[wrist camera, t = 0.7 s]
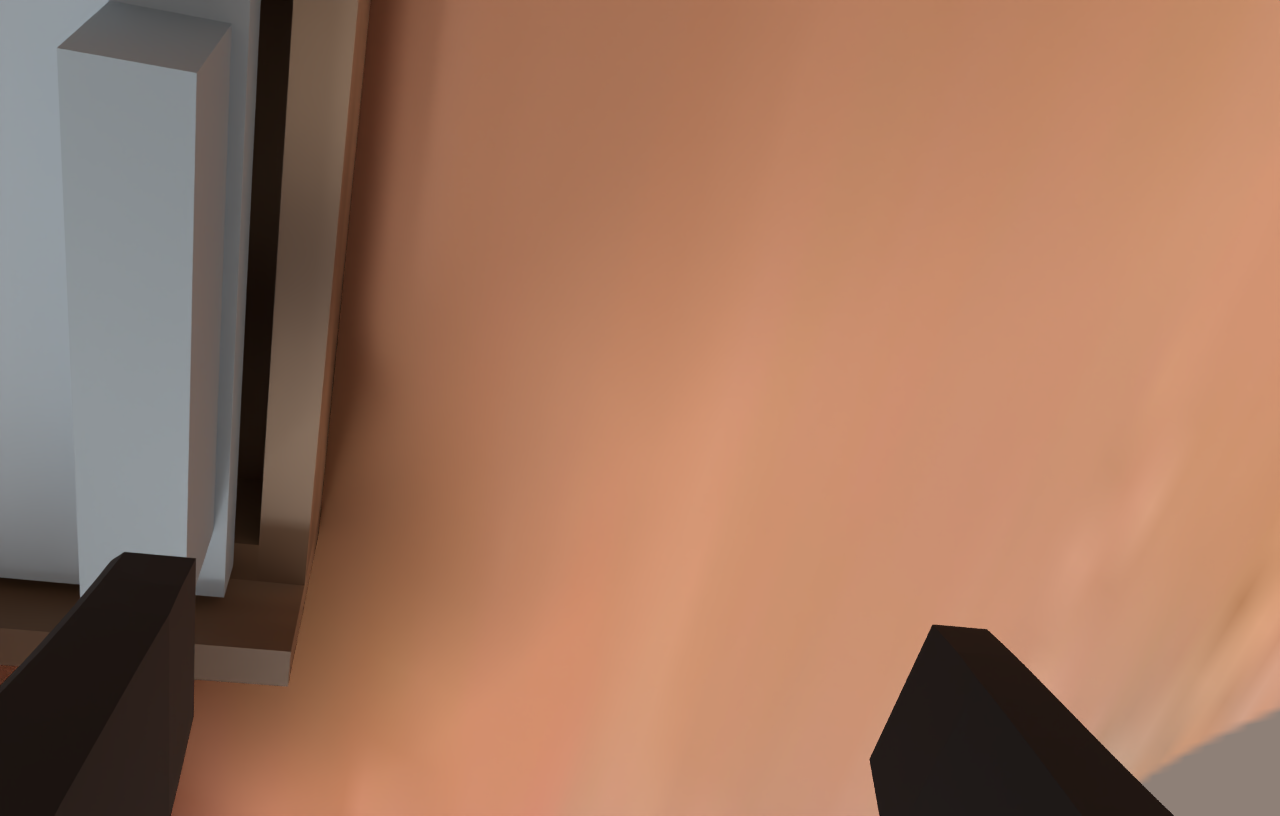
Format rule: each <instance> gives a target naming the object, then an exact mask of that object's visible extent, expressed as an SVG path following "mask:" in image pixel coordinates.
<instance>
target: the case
mask: <svg viewBox="0 0 1280 816" xmlns="http://www.w3.org/2000/svg"><path fill="white" fill-rule="evenodd" d="M370 2H371V0H261V5H260V26H259V46H258V67H257V87H256V108H255V128H254V149H253V169H252V189H251V210H250V230H249V251H248V271H247V292H246V312H245V333H244V353H243V374H242V394H241V415H240V435H239V456H238V476H237V497H236V517H235V538H234V558H233V568H232V571H231V575H230V578H229V582H228V585H227V589H226V592H225V596H224V598H223V597H212V596H201V595H195V656H194V679H195V680H208V681H221V682H235V683H248V684H261V685H274V686H288V683H289V678H290V673H291V668H292V663H293V658H294V653H295V648H296V643H297V638H298V633H299V628H300V623H301V618H302V613H303V609H304V604H305V599H306V594H307V589H308V584H309V579H310V574H311V569H312V564H313V559H314V554H315V549H316V544H317V539H318V534H319V524H320V514H321V504H322V493H323V483H324V473H325V463H326V452H327V442H328V432H329V422H330V411H331V401H332V391H333V381H334V370H335V360H336V350H337V340H338V329H339V319H340V309H341V299H342V288H343V278H344V268H345V258H346V247H347V237H348V227H349V217H350V207H351V196H352V186H353V176H354V166H355V155H356V145H357V135H358V125H359V114H360V104H361V94H362V84H363V73H364V63H365V53H366V43H367V32H368V22H369V12H370ZM79 599H80V585H79V584H68V583H57V582H46V581H35V580H23V579H12V578H1V577H0V665H9V666H20V665H21V664H22V663H23V662H24V660H25V659H26V658H27V657H28V656H29V655H30V654H31V653H32V652H33V651H34V650H35V648H36V647H37V646H38V645H39V644H40V643H41V642H42V641H43V640H44V639H45V637H46V636H47V635H48V634H49V633H50V632H51V631H52V630H53V629H54V628H55V626H56V625H57V624H58V623H59V622H60V621H61V620H62V618H63V617H64V616H65V615H66V614H67V613H68V612H69V610H70V609H71V608H72V607H73V606H74V605H75V604H76V602H77V601H78V600H79Z"/></svg>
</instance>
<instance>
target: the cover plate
mask: <svg viewBox="0 0 1280 816" xmlns="http://www.w3.org/2000/svg"><path fill="white" fill-rule="evenodd" d="M260 5H261V0H0V577H1V578H12V579H23V580H35V581H46V582H57V583H68V584H79V585H80V598H81V596H82V595H83V594H84V593H85V592H86V590H87V589H88V588H89V587H90V586H91V585H92V583H93V582H94V581H95V580H96V579H97V577H98V576H99V575H100V574H101V572H102V571H103V570H104V569H105V567H106V566H107V565H108V564H109V562H110V561H111V560H113V559H114V558H116V557H117V556H119V555H120V554H122V553H123V552H133V553H144V554H155V555H166V556H177V557H188V558H196V592H195V595H201V596H212V597H223V598H224V596H225V592H226V589H227V585H228V582H229V578H230V575H231V571H232V568H233V558H234V538H235V517H236V497H237V476H238V456H239V435H240V415H241V394H242V374H243V353H244V333H245V312H246V292H247V271H248V251H249V230H250V210H251V189H252V169H253V149H254V128H255V108H256V87H257V67H258V46H259V26H260Z"/></svg>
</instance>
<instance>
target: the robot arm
mask: <svg viewBox="0 0 1280 816" xmlns="http://www.w3.org/2000/svg"><path fill="white" fill-rule="evenodd" d="M195 592H196V558H188V557H177V556H166V555H155V554H144V553H133V552H123V553H122V554H120V555H119V556H117V557H116V558H114V559H113V560H111V561H110V562H109V564H108V565H107V566H106V567H105V569H104V570H103V571H102V572H101V574H100V575H99V576H98V577H97V579H96V580H95V581H94V582H93V583H92V585H91V586H90V587H89V588H88V589H87V590H86V592H85V593H84V594H83V595H82V596H81V598H80V599H79V600H78V601H77V602H76V604H75V605H74V606H73V607H72V608H71V609H70V610H69V612H68V613H67V614H66V615H65V616H64V617H63V618H62V620H61V621H60V622H59V623H58V624H57V625H56V626H55V628H54V629H53V630H52V631H51V632H50V633H49V634H48V635H47V636H46V637H45V639H44V640H43V641H42V642H41V643H40V644H39V645H38V646H37V647H36V648H35V650H34V651H33V652H32V653H31V654H30V655H29V656H28V657H27V658H26V659H25V660H24V662H23V663H22V664H21V665H20V666H19V667H18V668H17V669H16V670H15V671H14V672H13V673H12V674H11V675H10V676H9V677H8V678H7V679H6V680H5V681H4V682H3V683H2V684H1V685H0V816H171V812H172V808H173V804H174V800H175V795H176V791H177V787H178V783H179V779H180V774H181V770H182V765H183V761H184V757H185V752H186V748H187V743H188V739H189V734H190V730H191V726H192V721H193V717H194V656H195ZM870 765H871V770H872V776H873V782H874V787H875V793H876V799H877V804H878V810H879V815H880V816H1174V815H1173V814H1172V813H1171V812H1170V811H1169V810H1167V809H1166V808H1165V807H1164V806H1163V805H1162V804H1161V803H1160V802H1159V801H1158V800H1157V799H1156V798H1155V797H1154V796H1153V795H1152V794H1151V793H1150V792H1149V791H1148V790H1147V789H1146V788H1145V787H1144V786H1143V785H1142V784H1141V783H1140V782H1139V781H1138V780H1137V779H1136V778H1135V777H1134V776H1133V775H1132V774H1131V773H1130V772H1129V771H1128V770H1127V769H1126V768H1125V767H1124V766H1123V765H1122V764H1121V763H1120V762H1119V761H1118V760H1117V759H1116V758H1115V757H1114V756H1113V755H1112V754H1111V753H1110V752H1109V751H1108V750H1107V749H1106V748H1105V747H1104V746H1103V745H1102V744H1101V743H1100V742H1099V741H1098V740H1097V739H1096V738H1095V737H1094V736H1093V735H1092V734H1091V733H1090V732H1089V731H1088V730H1087V729H1086V728H1085V727H1084V726H1083V724H1082V723H1081V722H1080V721H1079V720H1078V719H1077V718H1076V717H1075V716H1074V715H1073V714H1072V713H1071V712H1070V711H1069V710H1068V709H1067V708H1066V707H1065V706H1064V705H1063V704H1062V703H1061V702H1060V701H1059V700H1058V699H1057V698H1056V697H1055V696H1054V695H1053V694H1052V693H1051V692H1050V691H1049V690H1048V689H1047V688H1046V687H1045V686H1044V685H1043V684H1042V683H1041V682H1040V681H1039V679H1038V678H1037V677H1036V676H1035V675H1034V674H1033V673H1032V672H1031V671H1030V670H1029V669H1028V668H1027V667H1026V666H1025V665H1024V664H1023V663H1022V662H1021V661H1020V660H1019V659H1018V658H1017V657H1016V656H1015V655H1014V654H1013V653H1011V652H1010V651H1009V650H1008V649H1007V648H1006V647H1005V646H1004V645H1003V644H1002V643H1001V642H1000V641H999V640H998V639H997V638H996V637H995V636H994V635H992V634H991V633H990V632H989V631H988V630H987V629H977V628H966V627H955V626H944V625H932V627H931V629H930V631H929V633H928V636H927V638H926V640H925V642H924V644H923V646H922V648H921V651H920V653H919V655H918V657H917V659H916V661H915V663H914V665H913V668H912V670H911V672H910V674H909V676H908V678H907V680H906V683H905V685H904V687H903V689H902V691H901V693H900V695H899V697H898V700H897V702H896V704H895V706H894V708H893V710H892V712H891V715H890V717H889V719H888V721H887V723H886V725H885V727H884V729H883V732H882V734H881V736H880V738H879V740H878V742H877V744H876V747H875V749H874V751H873V753H872V755H871V757H870Z"/></svg>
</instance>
